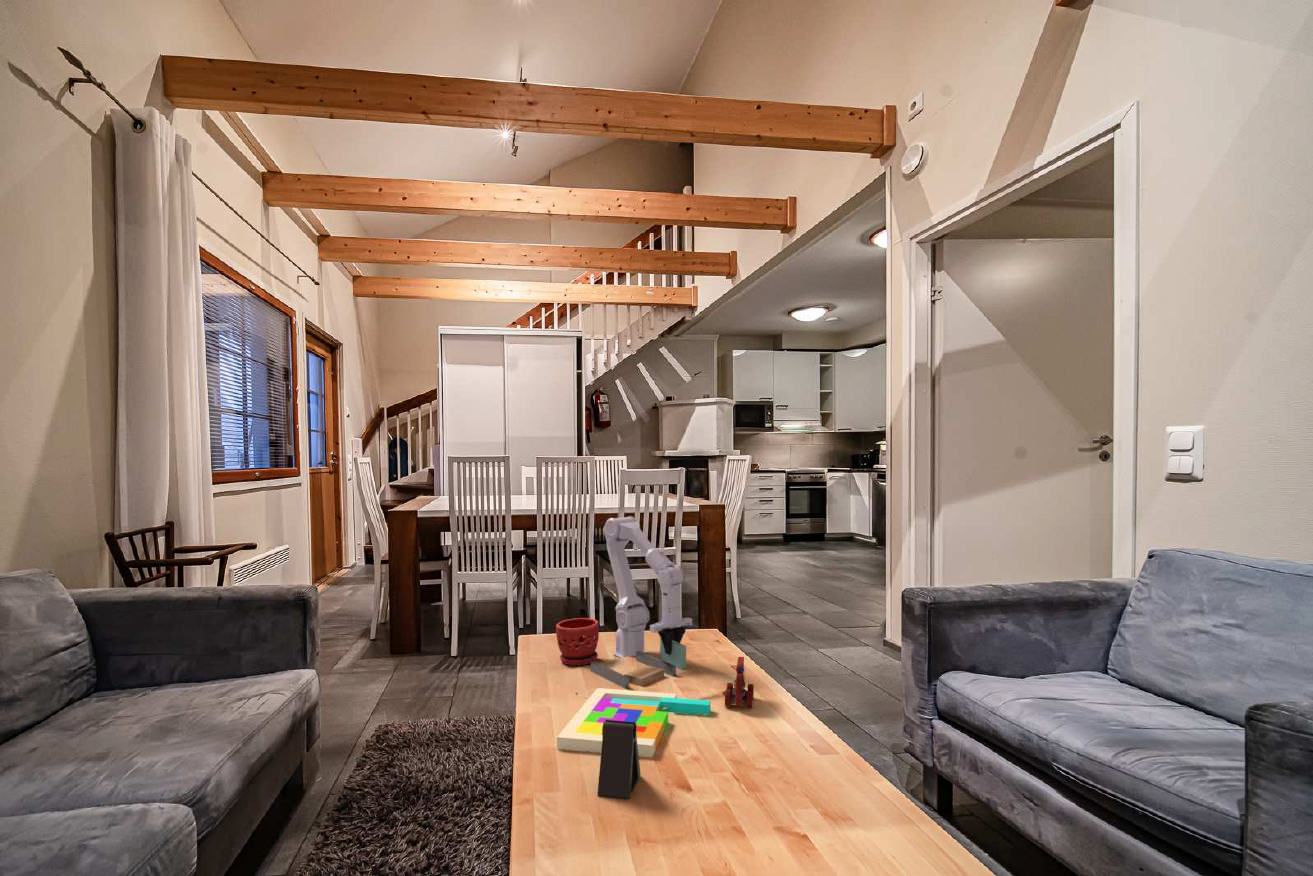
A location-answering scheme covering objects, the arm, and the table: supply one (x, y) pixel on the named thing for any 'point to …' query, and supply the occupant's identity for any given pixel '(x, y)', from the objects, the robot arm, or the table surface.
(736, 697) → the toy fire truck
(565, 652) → the plant pot
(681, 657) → the teal board
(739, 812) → the table surface
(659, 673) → the offcut upper
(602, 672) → the rack
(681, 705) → the puzzle game
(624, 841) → the table surface
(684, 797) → the table surface
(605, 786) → the phone stand
